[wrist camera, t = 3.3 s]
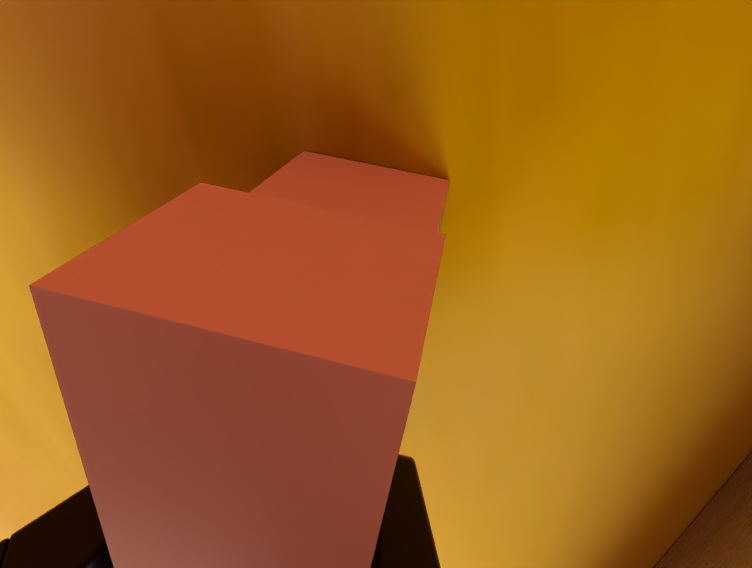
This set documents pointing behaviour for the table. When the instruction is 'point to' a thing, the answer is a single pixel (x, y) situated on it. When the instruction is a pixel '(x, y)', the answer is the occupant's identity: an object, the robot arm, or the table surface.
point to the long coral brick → (249, 364)
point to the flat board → (719, 529)
